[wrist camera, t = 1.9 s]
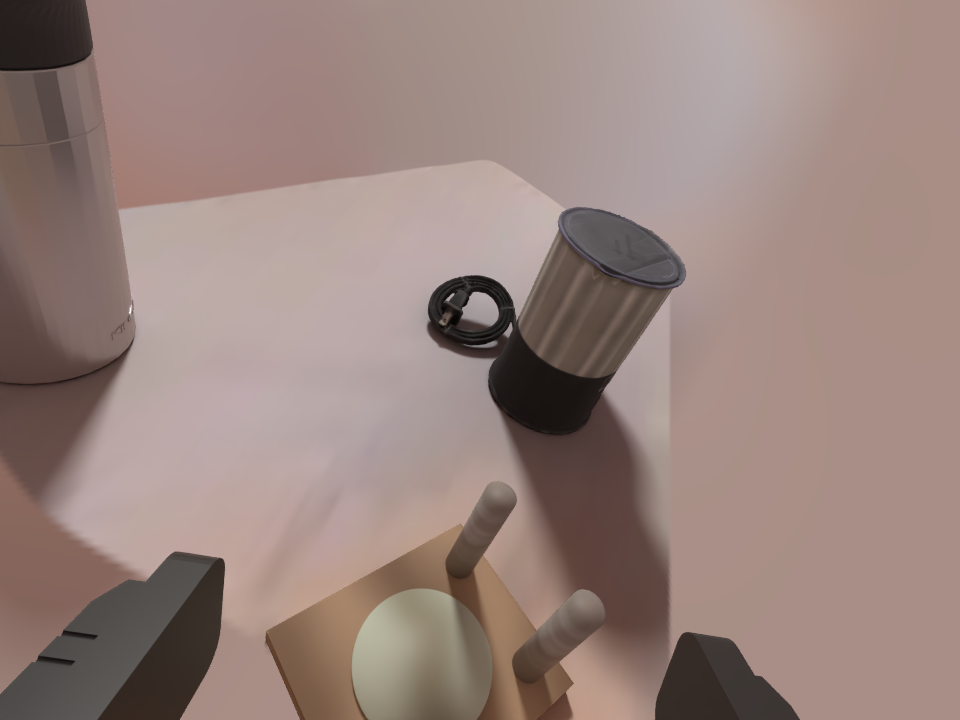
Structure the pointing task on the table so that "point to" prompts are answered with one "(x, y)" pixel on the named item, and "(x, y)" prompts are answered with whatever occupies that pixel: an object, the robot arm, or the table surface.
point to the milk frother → (568, 317)
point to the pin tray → (432, 637)
